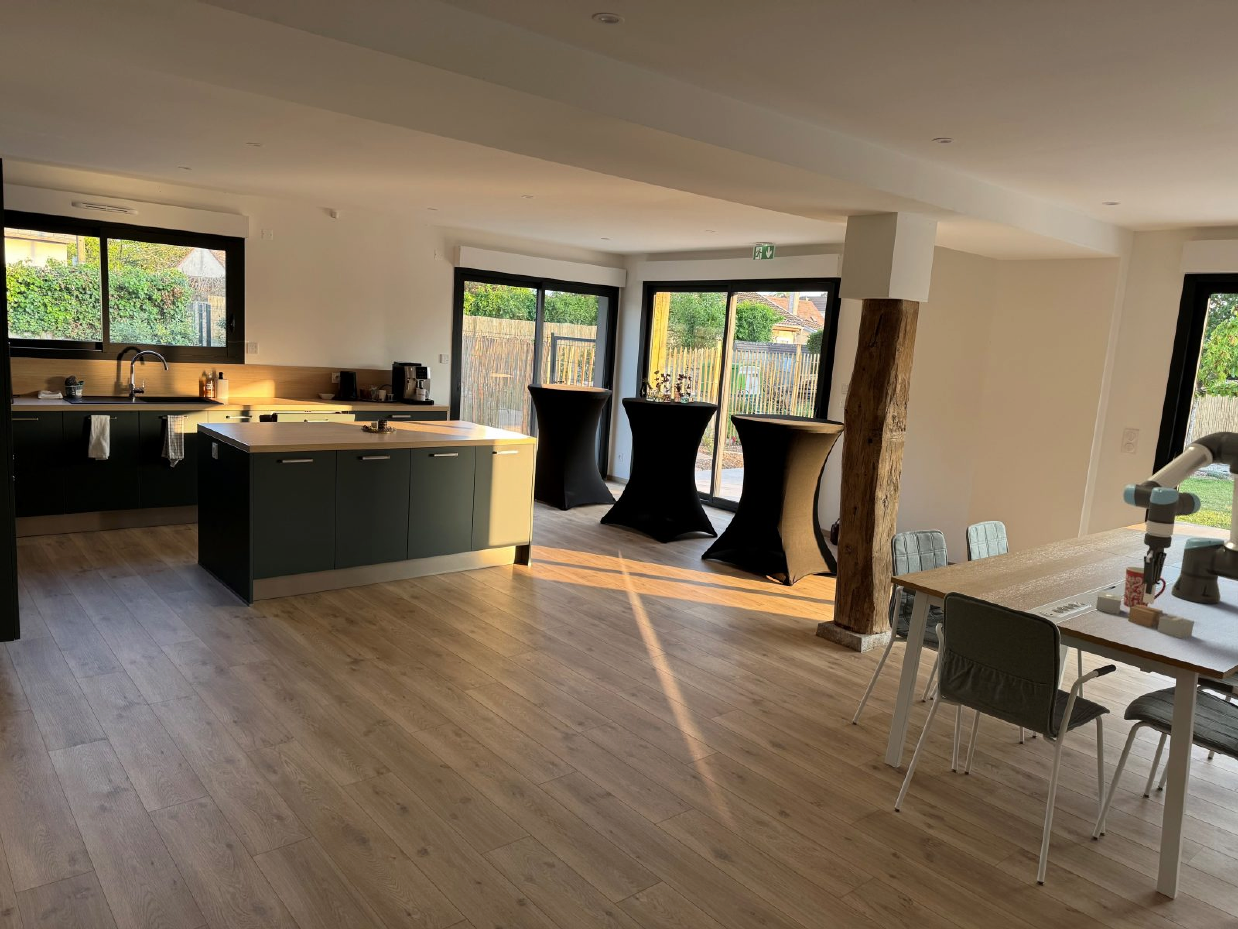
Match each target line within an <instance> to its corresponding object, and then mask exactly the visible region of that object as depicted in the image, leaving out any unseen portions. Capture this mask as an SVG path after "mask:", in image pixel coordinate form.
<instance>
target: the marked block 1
mask: <svg viewBox="0 0 1238 929" xmlns="http://www.w3.org/2000/svg"><path fill="white" fill-rule="evenodd" d="M1122 598H1123V596H1122V595H1117V594H1111V593H1107V592H1102V591H1101V592H1098V595H1097V600H1096V606H1095V610H1096V609H1097V610H1096V611H1100V612H1105V613H1111V614H1115V613H1116V614H1115V615H1120V612H1121V611H1120V610H1121V604H1122Z"/></svg>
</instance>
